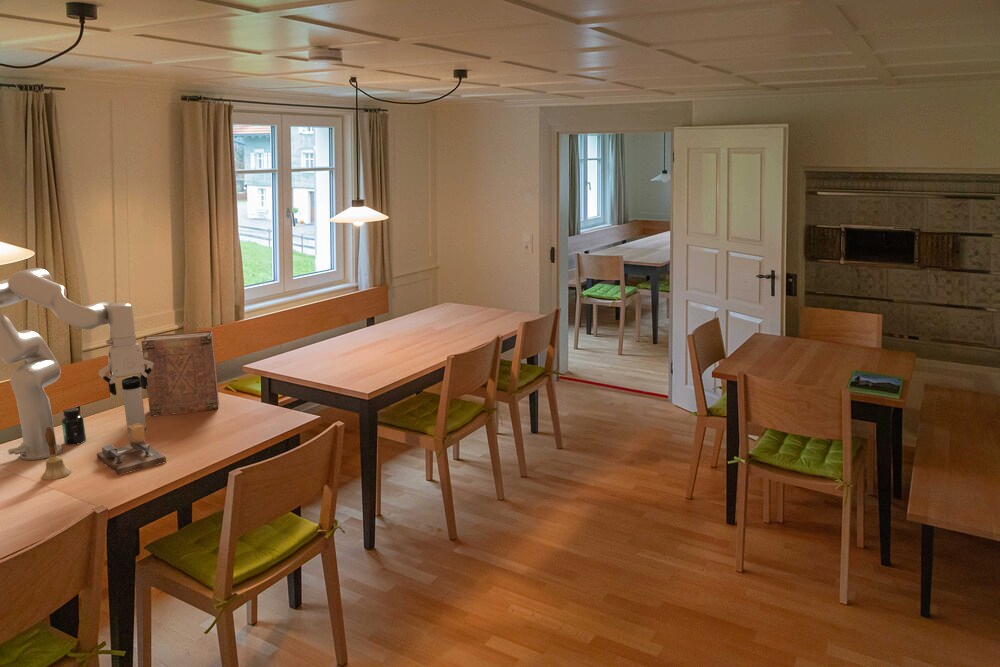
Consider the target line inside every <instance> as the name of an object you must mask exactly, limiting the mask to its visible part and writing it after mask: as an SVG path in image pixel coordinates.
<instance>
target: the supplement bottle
mask: <svg viewBox="0 0 1000 667" xmlns="http://www.w3.org/2000/svg"><path fill="white" fill-rule="evenodd" d="M62 412H63V417H62V419H61V428H62V434H63V442H64V444H65V445H67V444H76V445H78V444H77V443H80V444H82V443H81V442H83V441H85V442H86V440H87V435H86V428H85V422H84V417H83V416H82V415H80V410H79V408H78V407H70V408H69V407H68V408H66V409H64V410H63V411H62ZM83 443H84V442H83Z"/></svg>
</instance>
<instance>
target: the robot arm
mask: <svg viewBox="0 0 1000 667" xmlns="http://www.w3.org/2000/svg"><path fill="white" fill-rule="evenodd" d="M25 300H27V301H30V302H32V303H34V304H37V305H39V306H42V307H44V308H46V309H49V310H50V311H52V313H53V315H54V316H55V317H57V319H58V320H60V321H61V322H63V323H65V324H67V325H70V326H73V327H75V328H77V329H81V330H86V331H89V330H91V331H92V330H94V329H96V328H99V327H102V326H106V325H108V328H109V338H108V339H106V340H105V343H106V345H110V346H109V348H108V364H107V365H106V366H104V367H102V369H100V370H98V375H99V376H100V377H101V378H102V380H103V381H105V382H107V383H108V390H109V393H111V394H112V395H113V396H117V386H116V385H117V384H116V383H115V381H116V379H117V378H119V379H120V378H124V377H132V376H137V375H139V374H140V376H139V378H140V382H141V389H144V390H147V385H148V384H147V377H148V374H149V373H150V372H151V370H152V367H153V365H154V363H153V362H151V361H147V360H144V359H143V351H142V347H141V345H140V343H138V342H137V337H136V330H135V329H136V326H135V320H134V310H133V306H132V304H131V303H127V302H118V303H114V302H108V301H97V302H95V303H91V304H89V305H86V306H83V305H80V304H78V303H76V302H74V301H72V300H69V298H67V289H66V287H65V286H64V285H62V284H59V283H57V282H55V281H53V278H52V275H51V274H50V272H49V271H47V270H46V269H44V268H41V267H33V268H32V267H31V268H26V269H22V270H18V271H16V272H15V273H13V274H12V275H11V276H10V277H9V278H5V279H3V280H0V308H4V307H8V306H11V305H14V304H17V303H20V302H23V301H25ZM0 360H1V361H2V362H3V363H5V364H8V365H13V364H18V363H21V362H23V361H26V362H25V363H24V364H21V365H20V366H18V367H16V368H15V369H14V370H13V371H12V372H11V375H10V379H9V382H10V387H11V389H12V391H13V394H14V397H15V400H16V406H17V411H18V416H19V423H20V429H21V435H22V442H20V445H18V446H17V447H12V448H11V447H10V448H8V449H7V452H8V455H16V456H17V455H19V457H20V459H22V460H26V461H35V460H43V459H49V458H50V450H49V445H48V444H47V441H46V437H45V433H46V428H47V427H51V429H52V430H53V432H54V435H55V436H56V433H55V428H54V420H53V413H52V407H51V406H52V405H51V400H50V398H49V396H48V394H47V393H46V390H45V389H44V388H46V387H48V386H49V385H50V386H51V385H52V384H54V383H56V382H57V381H58V380H59V379H60V377H61V373H62V369H61V366H60V364H59V362H58V359H56V357H55V355H54V353H53V352H52V350H51V349H50V347H49V345H48V344H47V342H46V341H45V339H44V338H43V337H42V336H41V334H39V333H38V332H36V331H34V330H31V329H22V330H20V331H18V330H17V329H16V327H15V326H14V325H13V323H12V321H11V320H10V319H9V317H7V316H6V315H5V314H3V313H2V312H1V311H0ZM144 364H147V365H148V366H147V368H146V369H145V366H144ZM107 372H109V376H106V373H107ZM56 440H57V439H56V438H55V445H54V446H55V452H56V454H57V455H59V454H60V453H61V452H63V447H62V445H60V444H58V443H57V441H56Z"/></svg>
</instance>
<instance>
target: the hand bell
mask: <svg viewBox="0 0 1000 667" xmlns="http://www.w3.org/2000/svg"><path fill="white" fill-rule="evenodd" d="M54 432H55V431H54ZM54 432H53V430H52V429H51V427H47V428H46V433H45V437H46V441H47V444H48V445H49V450H50V457H48V458H46V460H45V465H46V466H45V470H44V472H43V473H42V476H41V479H43V480H45V481H47V480H50V481H51V480H59V479H62V477H63V478H65V477H67V476H70V474H71V473H72V470H71V469H70V468H68V466H66V465H65V463H64V460H63V458H62V456H58V454H57V455H56V452H55V446H54V445H55V439H56V434H55V435H54Z"/></svg>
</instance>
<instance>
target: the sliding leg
mask: <svg viewBox="0 0 1000 667" xmlns="http://www.w3.org/2000/svg"><path fill="white" fill-rule="evenodd" d="M126 431H127V439H128V441H129V445H130V446H131V447H132V448H134V449H135V450H138V449H143V450H145V454H146V455H148V454H149V452H148V451H149V450H150V449H149V447H148V446H146V445H145V444H146V443H145V441H146V434H145V433H146V432H145V431H144V426H143V425H141V424H140V423H138V424H134V425H130V426H127V425H126Z"/></svg>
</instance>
